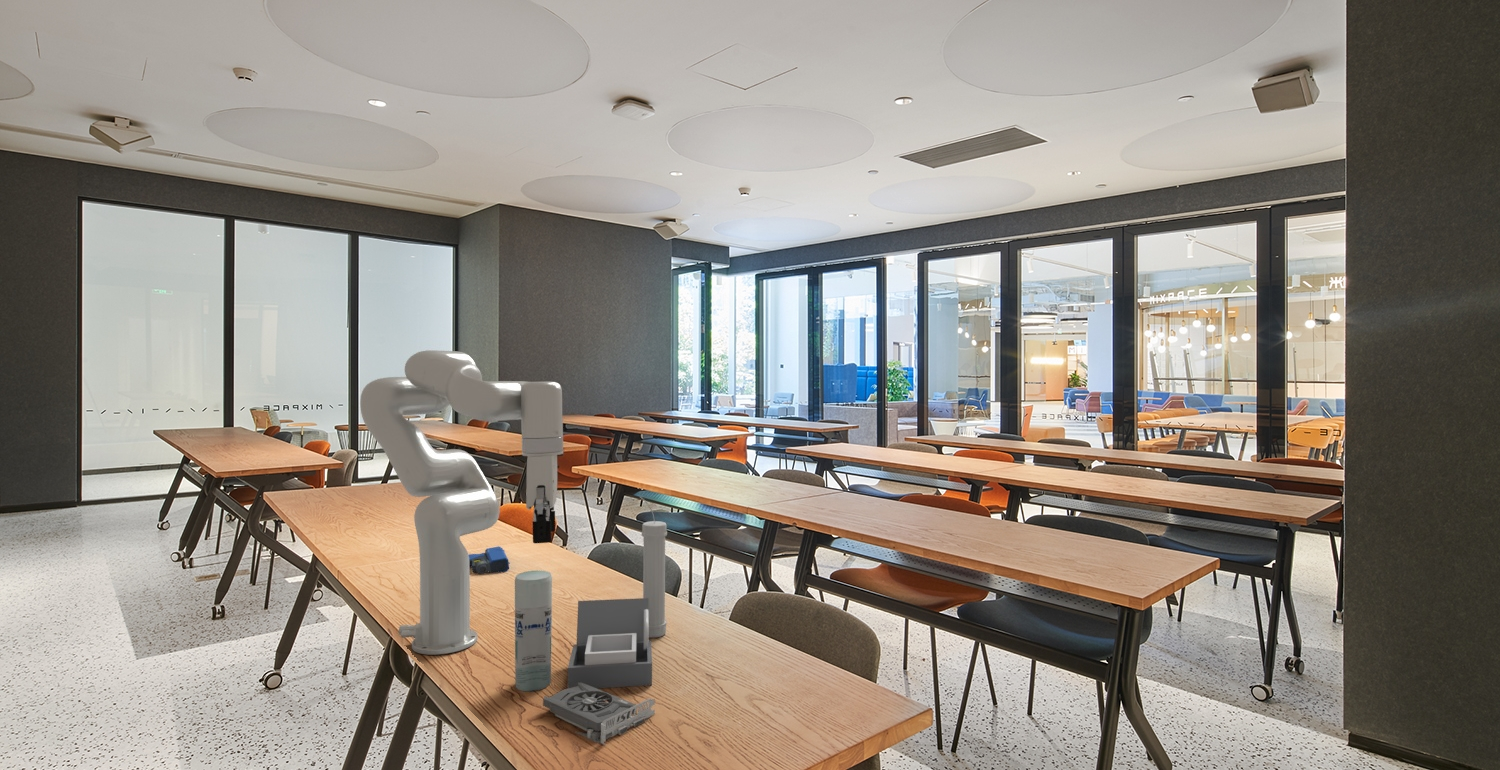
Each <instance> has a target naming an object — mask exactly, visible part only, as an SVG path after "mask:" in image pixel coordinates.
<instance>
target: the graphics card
mask: <svg viewBox="0 0 1500 770" xmlns="http://www.w3.org/2000/svg"><path fill="white" fill-rule="evenodd" d="M655 699H656V698H653V699H652V698H650V697H649V698H648V699H645V700H644V701H642V702H639V703H637V704H636V703H633V702H630V701H628V700H626V699H624V698H621V697H619V696H616V695H613V694H611V693H608V692H607V691H603V690H601V689H600V688H594V687H592V686H589V685H587V684H584V683H578V686H576V687H572V688H568V687H567V688H565V689H561V690H560V691H558V692H557V693H555V694H553V695H551V696H543V699H542V706H543V707H545V708H547V709H549V712H551V713H552V714H554V716H555V717H557V718H558V719H561V720H563V721H565V722H567V723H569V724H571V725H573V726H575V727H577V728H579V729H581V730H583V731H585V732H578V731H575V733H576V734H578V735H580V736H582V737H584V738H586V739H588V740H589V741H592V742H594V743H596V744H603V745H604V746H606V743H605V742H606V740H609V739H611V738H613V737H615V736H617V735H620V736H621V735H624V734H625V733H627V731H628V729H631V727H634V728H635V727H638V726H640V725H641V724H644V723H645V722H646V720H648V719H649V718H650V717H652V716H654V715H655V714H656V711H655V710H656V709H655V708H653V709H652V707H653V706H655V703H656V701H655ZM637 709H638V710H637Z"/></svg>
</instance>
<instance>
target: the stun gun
mask: <svg viewBox="0 0 1500 770" xmlns="http://www.w3.org/2000/svg"><path fill="white" fill-rule="evenodd" d="M505 552H506V551H505V549H503V547H501V546H494V547H493V546H492V547H488V548H486V549H485V550H484V552H482V553H472V554H470V553H468V555H469V567H470V568H471V570H472V572H473V573H477V574H478V575H482V574H487V573H491V574H496V573H497V574H498V573H506V572H508V571H509V569H510V564H511V563H510V561H509V558H508V557H507V555H506V553H505Z"/></svg>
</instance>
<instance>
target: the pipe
mask: <svg viewBox="0 0 1500 770" xmlns="http://www.w3.org/2000/svg"><path fill="white" fill-rule="evenodd" d="M639 498H640V499H641V500H642V501H644V502H645V503H646V504H647V506H648V507H649V509H650V511H651V513H652V518H653V520H652V521H646V522H644V523H642V525H641V527H642V528H641V536H642V537H643V538H642V539H643V548H642V549H643V551H642V552H643V555H642V556H643V564H642V566H643V567H642V568H643V572H642V573H643V577H642V578H643V579H642V580H643V581H642V582H643V583H642V591H643V592H642V598H649V638H650V639H651V638H652V639H653V638H660V637H663V636H664V635H665V634H666V633H667V624H668V621H667V620H666V613H665V612H666V601H665V600H666V537H667V535H668V531H667V523H666V522H664V521H658V520H656V519H655V515H654V511H653V510H652V507H651V506H650V504H649V503H648V501H646V500H645V498H643V497H641V496H639Z"/></svg>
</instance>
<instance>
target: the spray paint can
mask: <svg viewBox="0 0 1500 770" xmlns="http://www.w3.org/2000/svg"><path fill="white" fill-rule="evenodd" d="M552 597H553V576H552V573H551V572H549V571H546V570H529V571H524V572H520V573H518V574H516V575H515V578H514V649H515V650H514V652H515V653H514V660H515V661H514V663H515V665H514V666H515V668H514V671H515V674H514V676H515V677H514V679H515V681H514V683H515V688H516V689H517V690H519V691H522V692H537V691H539V690H544V689H545V688H547V687H549V686H550V684H551V681H552V618H553V617H552V612H553V611H552V610H553V605H552V603H553V602H552V601H553V598H552Z"/></svg>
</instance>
